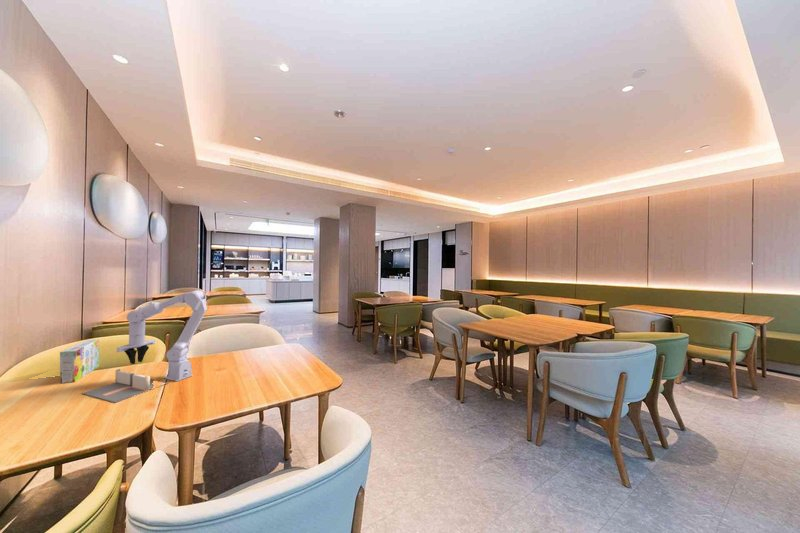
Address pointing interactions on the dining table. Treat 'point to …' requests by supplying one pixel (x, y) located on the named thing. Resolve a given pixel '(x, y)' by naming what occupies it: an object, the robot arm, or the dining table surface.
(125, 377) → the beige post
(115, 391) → the card
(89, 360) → the snack box
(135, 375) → the fixed fence section
